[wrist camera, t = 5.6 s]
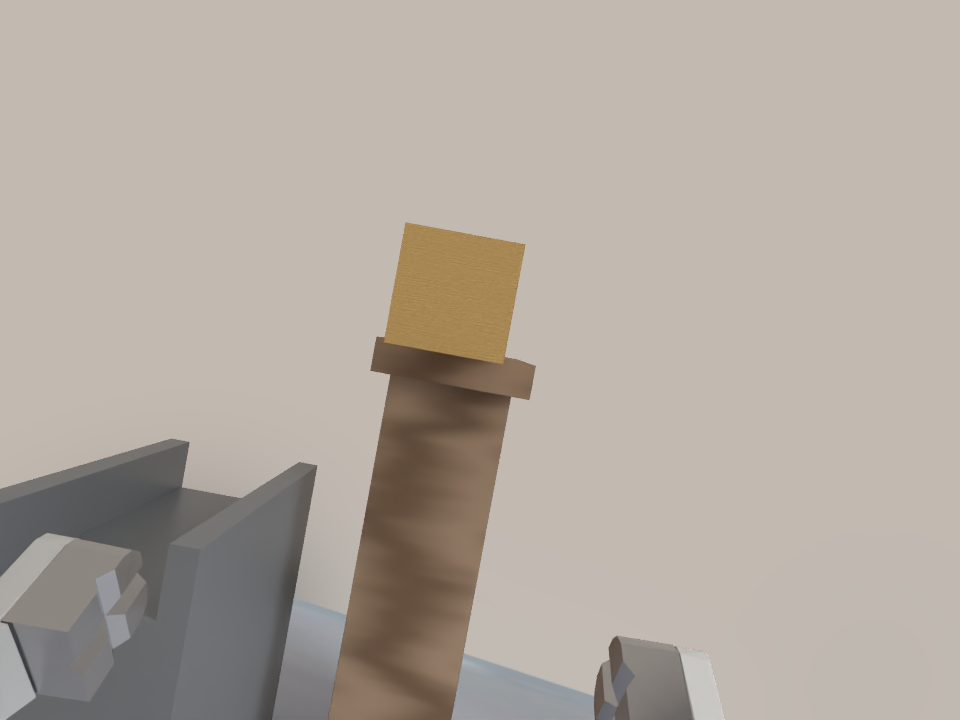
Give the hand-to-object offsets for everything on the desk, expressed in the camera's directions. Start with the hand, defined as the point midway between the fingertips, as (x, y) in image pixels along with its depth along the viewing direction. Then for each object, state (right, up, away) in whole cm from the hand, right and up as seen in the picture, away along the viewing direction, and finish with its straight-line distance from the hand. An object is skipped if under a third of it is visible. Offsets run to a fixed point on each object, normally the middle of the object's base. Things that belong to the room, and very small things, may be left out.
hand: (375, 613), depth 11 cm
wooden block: (+1, +5, +18) cm, 19 cm away
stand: (-4, -21, +24) cm, 32 cm away
